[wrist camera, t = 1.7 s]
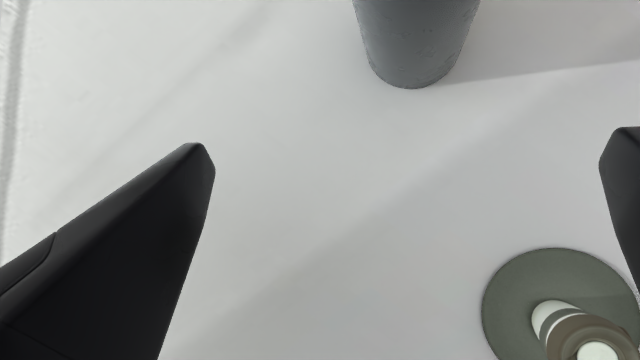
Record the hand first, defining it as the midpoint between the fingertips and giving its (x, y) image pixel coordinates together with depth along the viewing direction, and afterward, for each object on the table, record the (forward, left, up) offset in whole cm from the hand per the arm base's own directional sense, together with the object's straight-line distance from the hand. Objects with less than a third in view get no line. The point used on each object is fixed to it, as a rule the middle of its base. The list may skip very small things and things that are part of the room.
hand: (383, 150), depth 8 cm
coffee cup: (-11, -2, -14) cm, 18 cm away
